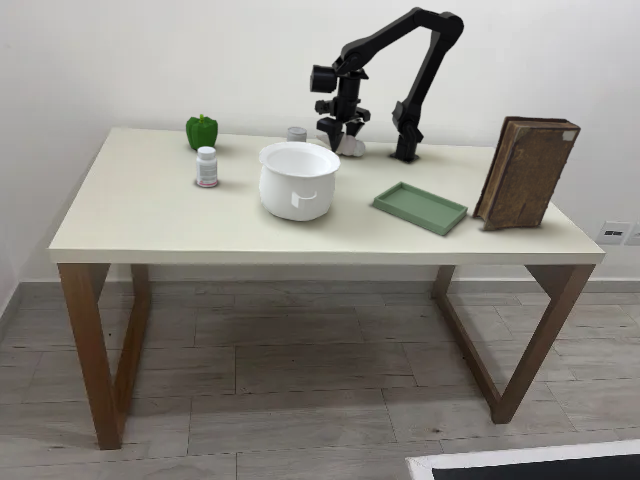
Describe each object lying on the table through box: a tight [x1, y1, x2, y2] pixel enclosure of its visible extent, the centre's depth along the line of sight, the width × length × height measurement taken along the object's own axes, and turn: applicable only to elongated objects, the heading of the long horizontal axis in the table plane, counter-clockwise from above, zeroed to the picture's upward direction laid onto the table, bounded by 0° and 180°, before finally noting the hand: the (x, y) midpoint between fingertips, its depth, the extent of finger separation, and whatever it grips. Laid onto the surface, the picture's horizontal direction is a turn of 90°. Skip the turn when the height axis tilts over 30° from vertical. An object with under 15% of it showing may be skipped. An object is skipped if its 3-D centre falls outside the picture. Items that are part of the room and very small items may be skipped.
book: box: [471, 115, 582, 231], centre depth 110 cm, size 17×7×25 cm, turn 99°
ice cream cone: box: [314, 132, 367, 157], centre depth 139 cm, size 6×6×15 cm
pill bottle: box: [195, 147, 218, 188], centre depth 115 cm, size 5×5×8 cm
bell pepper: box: [185, 113, 219, 152], centre depth 131 cm, size 8×8×10 cm
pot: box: [258, 141, 342, 222], centre depth 109 cm, size 22×17×12 cm
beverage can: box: [285, 126, 308, 143], centre depth 123 cm, size 5×5×12 cm
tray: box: [372, 181, 469, 236], centre depth 117 cm, size 13×18×2 cm
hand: (340, 149), depth 140 cm, fingers closed on ice cream cone, 6 cm apart
